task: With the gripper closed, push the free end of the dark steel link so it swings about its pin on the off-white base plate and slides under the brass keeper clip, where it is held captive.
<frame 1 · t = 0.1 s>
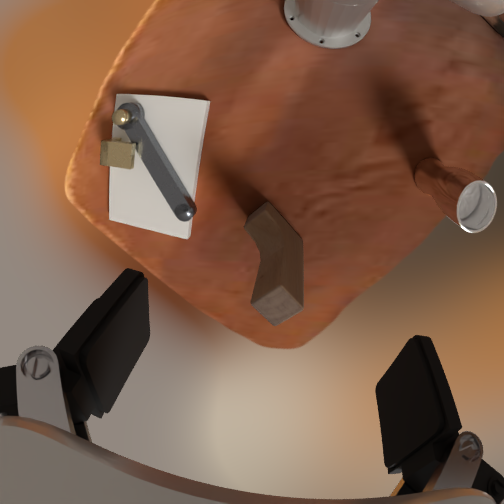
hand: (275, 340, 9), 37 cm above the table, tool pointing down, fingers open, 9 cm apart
base plate: (153, 163, 45), on the table
keeper: (132, 148, 44), resting on base plate
link: (155, 160, 42), point 3 cm above the table, hinge at 40.0°
wooden block: (276, 228, 47), on the table
drinking horn: (476, 7, 22), on the table
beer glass: (429, 175, 39), on the table
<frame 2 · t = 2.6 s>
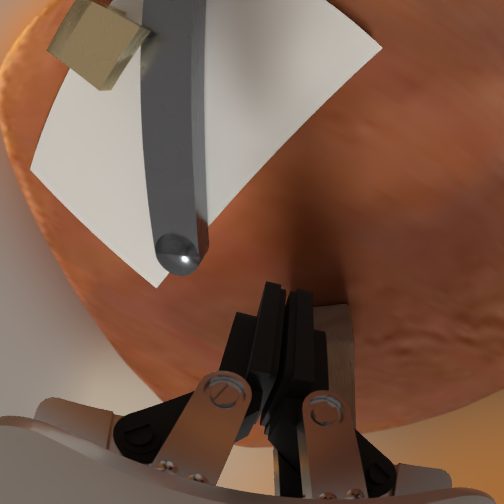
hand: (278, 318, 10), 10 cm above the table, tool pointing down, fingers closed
base plate: (162, 101, 17), on the table
keeper: (135, 47, 15), resting on base plate
link: (172, 97, 14), point 3 cm above the table, hinge at 40.0°
wooden block: (324, 342, 24), on the table
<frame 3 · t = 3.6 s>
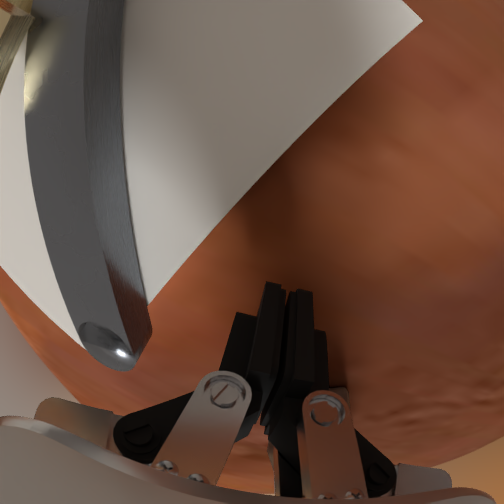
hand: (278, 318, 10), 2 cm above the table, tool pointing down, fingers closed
base plate: (79, 119, 10), on the table
keeper: (49, 45, 9), resting on base plate
link: (70, 117, 8), point 3 cm above the table, hinge at 40.0°
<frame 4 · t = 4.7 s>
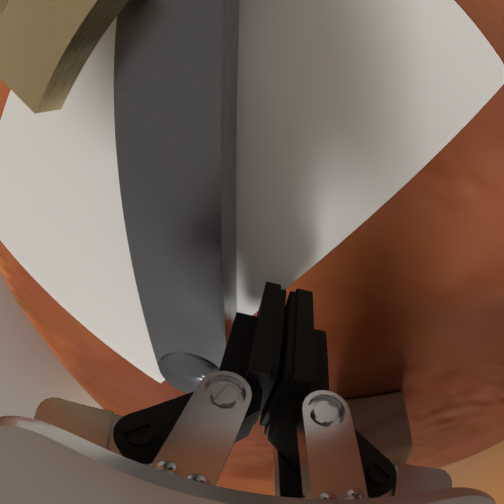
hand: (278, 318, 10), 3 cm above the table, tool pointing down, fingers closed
base plate: (156, 122, 10), on the table
keeper: (113, 32, 8), resting on base plate
link: (177, 122, 7), point 3 cm above the table, hinge at 40.0°, touching gripper
wooden block: (365, 423, 18), on the table
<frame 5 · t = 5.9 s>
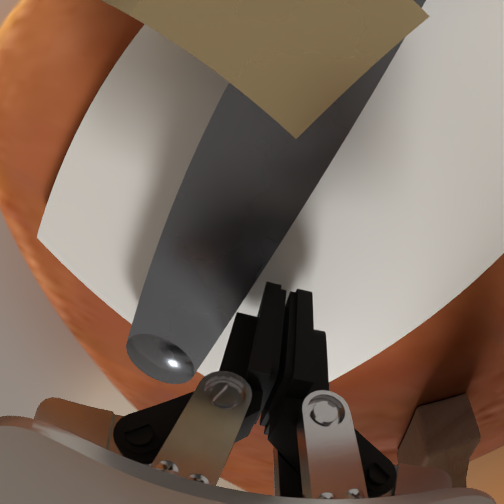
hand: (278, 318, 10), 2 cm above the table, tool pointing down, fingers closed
base plate: (325, 154, 10), on the table
keeper: (269, 35, 8), resting on base plate
link: (275, 131, 7), point 3 cm above the table, hinge at 14.2°, touching gripper
wooden block: (428, 424, 18), on the table
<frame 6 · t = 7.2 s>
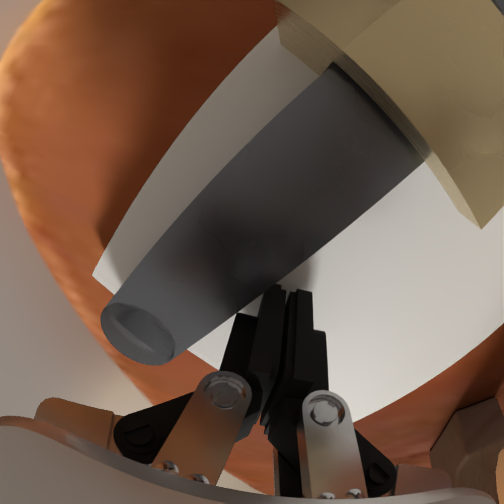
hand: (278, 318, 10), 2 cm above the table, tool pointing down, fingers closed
base plate: (424, 201, 10), on the table
keeper: (384, 76, 8), resting on base plate
link: (352, 129, 7), point 3 cm above the table, hinge at -3.2°, touching gripper
wooden block: (459, 426, 17), on the table
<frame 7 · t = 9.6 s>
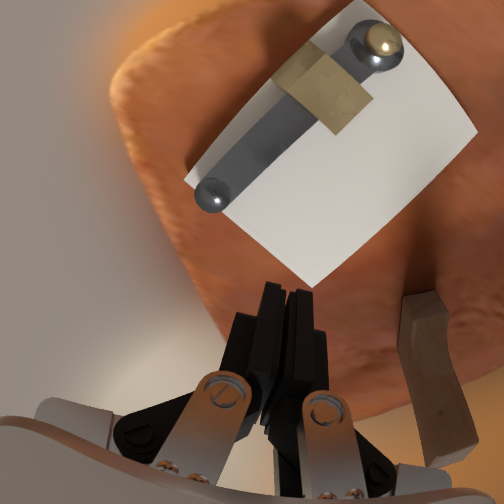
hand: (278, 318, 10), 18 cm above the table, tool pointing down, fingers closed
base plate: (339, 143, 23), on the table
keeper: (316, 91, 21), resting on base plate
link: (296, 112, 20), point 3 cm above the table, hinge at -3.4°
wooden block: (415, 320, 31), on the table
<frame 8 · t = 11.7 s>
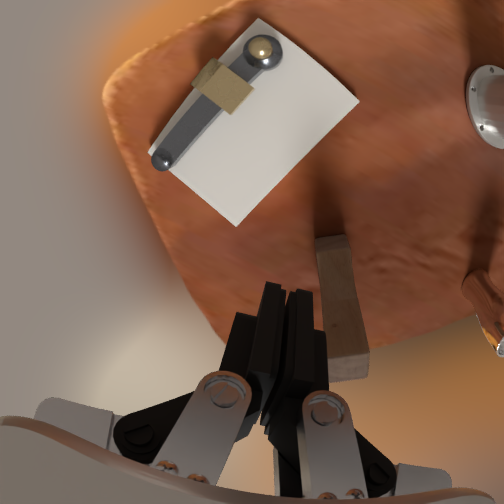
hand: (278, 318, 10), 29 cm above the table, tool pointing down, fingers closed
base plate: (248, 121, 34), on the table
keeper: (231, 88, 32), resting on base plate
link: (212, 103, 31), point 3 cm above the table, hinge at -3.4°
wooden block: (333, 262, 42), on the table
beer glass: (474, 282, 39), on the table
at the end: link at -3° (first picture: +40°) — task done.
